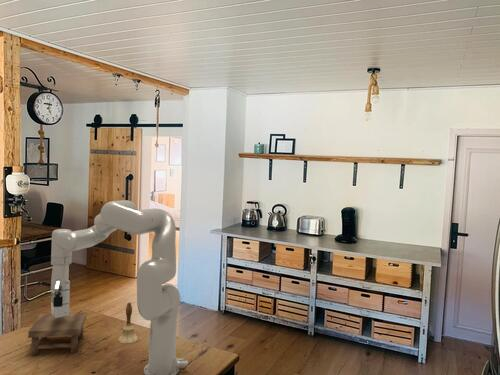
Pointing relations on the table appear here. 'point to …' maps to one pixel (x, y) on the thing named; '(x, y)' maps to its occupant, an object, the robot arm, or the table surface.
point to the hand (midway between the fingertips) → (60, 302)
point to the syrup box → (64, 309)
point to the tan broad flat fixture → (57, 331)
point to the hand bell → (128, 329)
